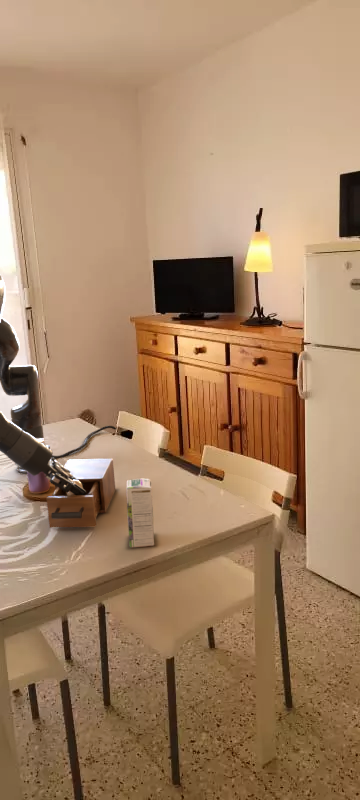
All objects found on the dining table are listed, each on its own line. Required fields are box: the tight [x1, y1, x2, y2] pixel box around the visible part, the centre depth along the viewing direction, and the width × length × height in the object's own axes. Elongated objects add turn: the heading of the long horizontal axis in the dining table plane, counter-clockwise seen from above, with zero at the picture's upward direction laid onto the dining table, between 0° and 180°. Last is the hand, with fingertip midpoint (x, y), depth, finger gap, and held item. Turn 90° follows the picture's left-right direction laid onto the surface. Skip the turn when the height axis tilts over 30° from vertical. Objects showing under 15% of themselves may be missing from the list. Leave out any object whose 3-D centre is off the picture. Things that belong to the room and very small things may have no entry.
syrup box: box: [126, 478, 155, 549], centre depth 141 cm, size 6×6×14 cm
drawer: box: [45, 481, 102, 529], centre depth 154 cm, size 19×11×8 cm, turn 176°
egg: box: [66, 480, 83, 496], centre depth 154 cm, size 5×5×7 cm
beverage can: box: [26, 438, 51, 495], centre depth 175 cm, size 6×6×15 cm
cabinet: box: [54, 457, 116, 514], centre depth 166 cm, size 16×13×10 cm
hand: (82, 491), depth 154 cm, fingers closed on egg, 4 cm apart
